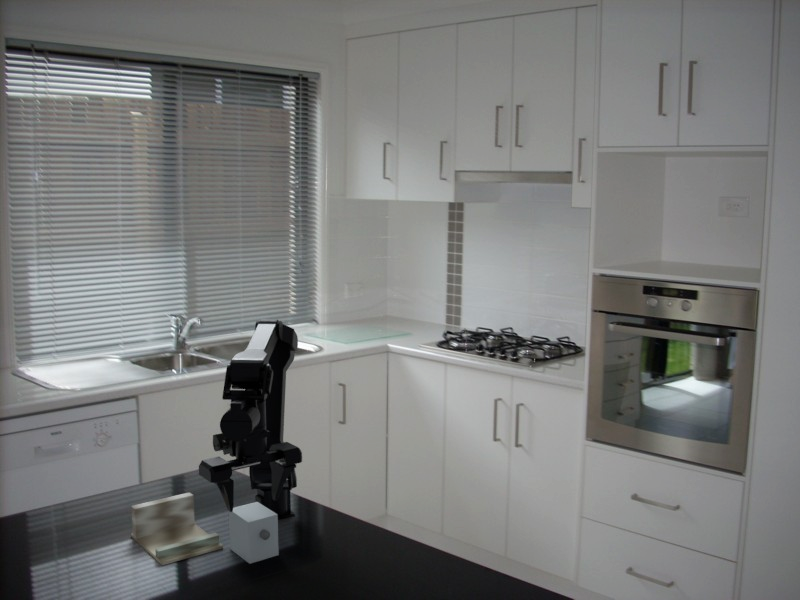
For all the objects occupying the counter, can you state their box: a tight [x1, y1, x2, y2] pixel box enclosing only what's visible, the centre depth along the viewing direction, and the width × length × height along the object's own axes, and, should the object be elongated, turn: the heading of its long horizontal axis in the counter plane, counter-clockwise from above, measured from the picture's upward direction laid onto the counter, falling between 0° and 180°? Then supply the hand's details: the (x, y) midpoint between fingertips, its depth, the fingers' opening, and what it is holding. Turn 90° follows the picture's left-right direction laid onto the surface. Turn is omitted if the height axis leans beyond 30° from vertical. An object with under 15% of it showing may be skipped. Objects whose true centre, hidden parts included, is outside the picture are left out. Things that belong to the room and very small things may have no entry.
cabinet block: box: [228, 502, 280, 564], centre depth 160 cm, size 6×9×8 cm, turn 37°
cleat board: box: [130, 491, 224, 566], centre depth 165 cm, size 12×16×7 cm
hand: (252, 505), depth 160 cm, fingers open, 9 cm apart
